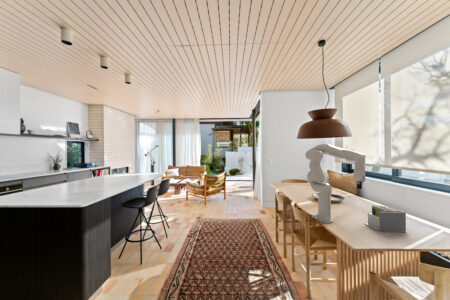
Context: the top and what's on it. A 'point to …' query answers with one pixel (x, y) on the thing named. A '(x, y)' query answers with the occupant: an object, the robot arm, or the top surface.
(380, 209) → the tea box
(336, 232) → the top surface
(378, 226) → the bookend
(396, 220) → the shelf wall
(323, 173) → the robot arm
